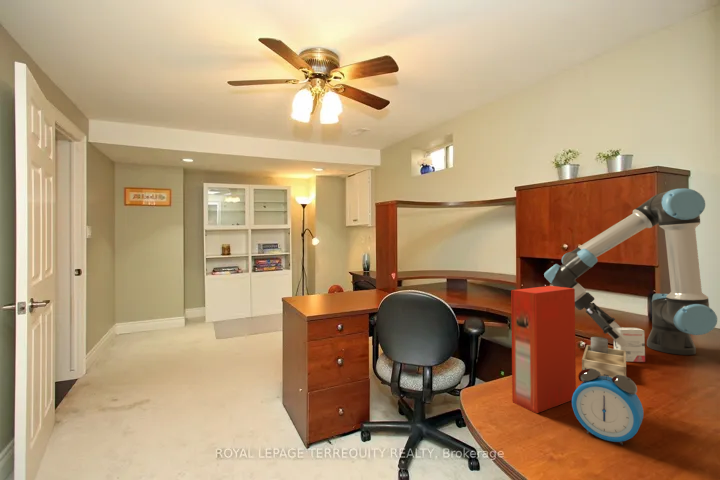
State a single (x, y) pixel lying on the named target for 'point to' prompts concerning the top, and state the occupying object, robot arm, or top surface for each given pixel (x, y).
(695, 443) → the top surface
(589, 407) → the alarm clock
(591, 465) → the top surface
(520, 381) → the file binder
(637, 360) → the ink box
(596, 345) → the desk organizer
